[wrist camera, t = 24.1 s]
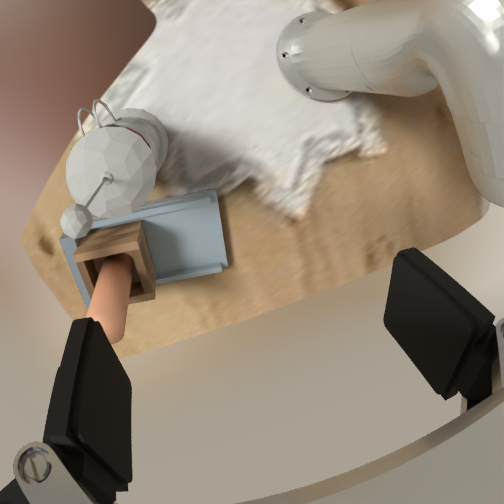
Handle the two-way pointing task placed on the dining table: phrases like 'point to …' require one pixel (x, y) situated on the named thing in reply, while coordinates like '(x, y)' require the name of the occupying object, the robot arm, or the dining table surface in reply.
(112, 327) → the dowel
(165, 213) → the rail
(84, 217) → the french press
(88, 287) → the square wooden box
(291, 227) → the dining table surface
